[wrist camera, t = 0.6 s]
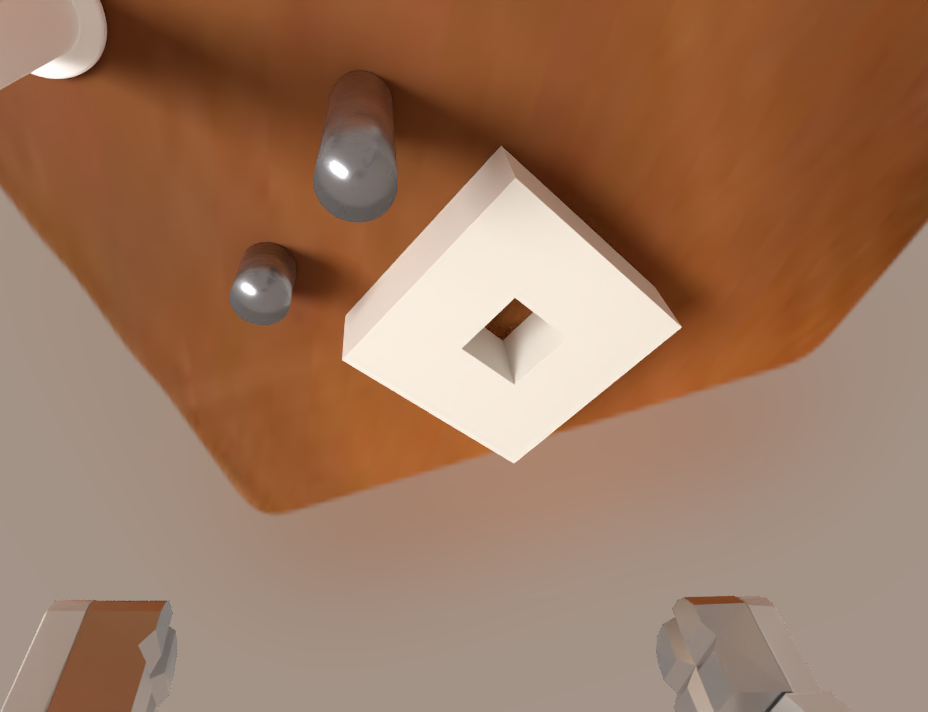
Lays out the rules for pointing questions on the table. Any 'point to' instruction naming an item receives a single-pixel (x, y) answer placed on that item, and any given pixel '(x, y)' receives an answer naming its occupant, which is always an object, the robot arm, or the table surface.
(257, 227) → the table surface
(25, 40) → the candle
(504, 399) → the hole block
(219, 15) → the table surface
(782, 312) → the table surface
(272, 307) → the short pin
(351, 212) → the long pin
